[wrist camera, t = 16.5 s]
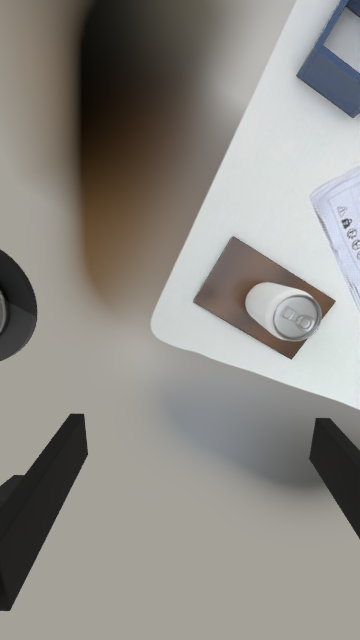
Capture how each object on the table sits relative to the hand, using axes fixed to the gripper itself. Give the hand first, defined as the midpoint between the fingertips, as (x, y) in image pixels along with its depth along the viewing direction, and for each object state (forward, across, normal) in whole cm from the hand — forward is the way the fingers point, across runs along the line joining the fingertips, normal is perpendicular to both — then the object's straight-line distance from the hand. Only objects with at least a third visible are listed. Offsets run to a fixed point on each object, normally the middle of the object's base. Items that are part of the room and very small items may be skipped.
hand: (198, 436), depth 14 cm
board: (+29, +12, +3) cm, 31 cm away
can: (+28, +12, +3) cm, 31 cm away
